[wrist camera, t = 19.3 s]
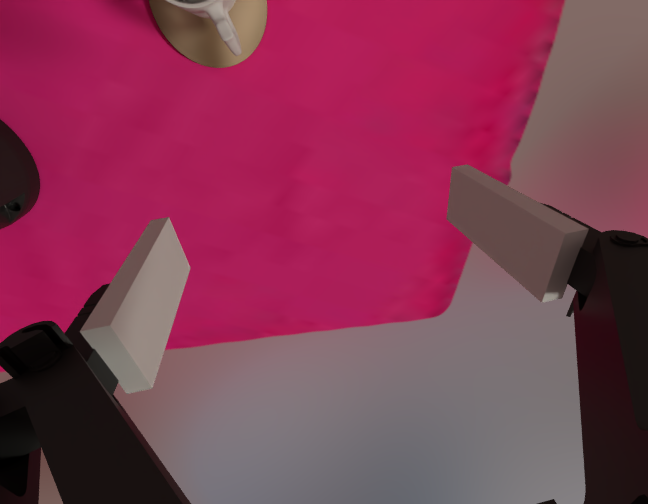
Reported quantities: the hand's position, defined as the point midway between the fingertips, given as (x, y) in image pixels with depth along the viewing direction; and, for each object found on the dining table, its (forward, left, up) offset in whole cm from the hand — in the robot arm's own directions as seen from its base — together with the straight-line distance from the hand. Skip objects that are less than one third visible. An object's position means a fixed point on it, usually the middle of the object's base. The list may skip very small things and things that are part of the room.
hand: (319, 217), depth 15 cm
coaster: (-5, +11, -28) cm, 30 cm away
